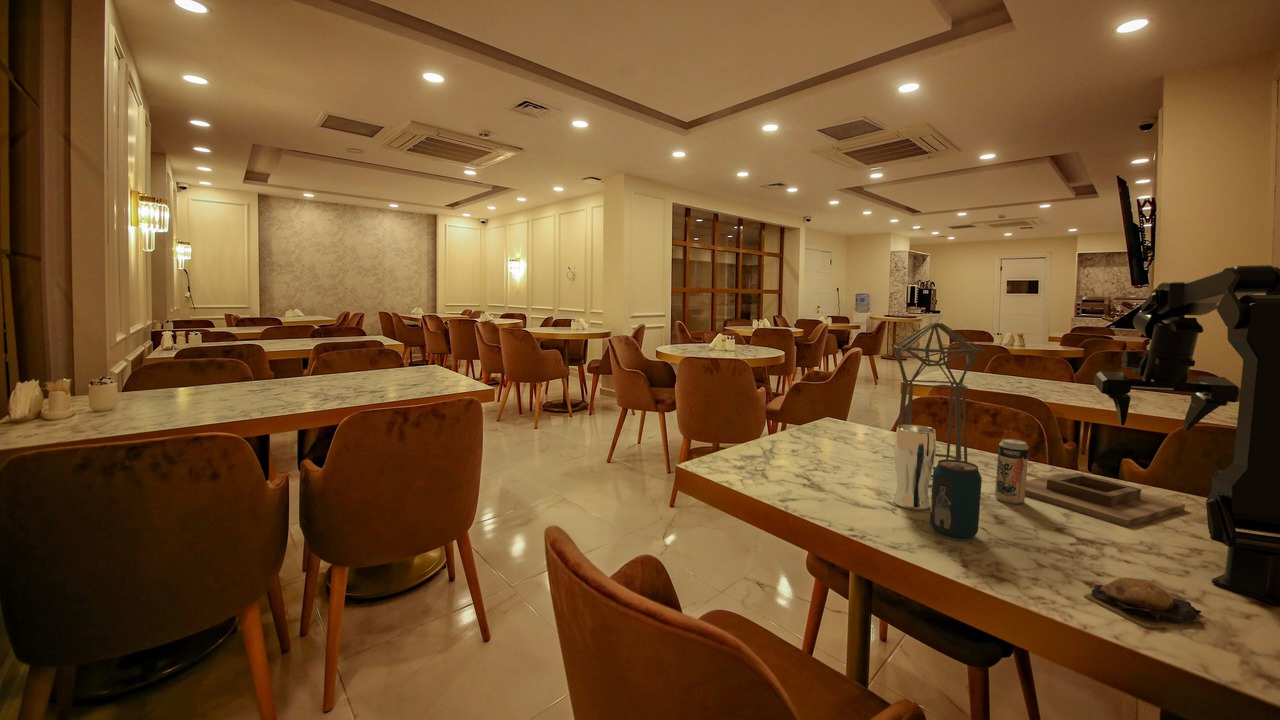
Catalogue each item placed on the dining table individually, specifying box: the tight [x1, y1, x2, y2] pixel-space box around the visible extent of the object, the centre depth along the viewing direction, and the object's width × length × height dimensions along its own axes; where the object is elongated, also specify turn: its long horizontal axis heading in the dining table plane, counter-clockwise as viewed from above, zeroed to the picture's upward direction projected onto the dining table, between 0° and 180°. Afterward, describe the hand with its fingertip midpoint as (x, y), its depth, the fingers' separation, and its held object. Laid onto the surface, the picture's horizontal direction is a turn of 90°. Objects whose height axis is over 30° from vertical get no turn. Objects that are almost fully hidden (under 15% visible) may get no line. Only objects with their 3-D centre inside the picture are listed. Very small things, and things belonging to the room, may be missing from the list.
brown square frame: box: [1025, 472, 1186, 528], centre depth 103 cm, size 20×20×3 cm
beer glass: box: [893, 424, 937, 511], centre depth 99 cm, size 7×7×15 cm
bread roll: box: [1083, 576, 1205, 630], centre depth 66 cm, size 11×8×4 cm
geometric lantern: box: [892, 322, 985, 488], centre depth 112 cm, size 16×16×35 cm
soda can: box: [929, 458, 983, 542], centre depth 86 cm, size 7×7×12 cm
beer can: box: [994, 438, 1030, 505], centre depth 102 cm, size 5×5×12 cm
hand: (1153, 427), depth 99 cm, fingers open, 9 cm apart
